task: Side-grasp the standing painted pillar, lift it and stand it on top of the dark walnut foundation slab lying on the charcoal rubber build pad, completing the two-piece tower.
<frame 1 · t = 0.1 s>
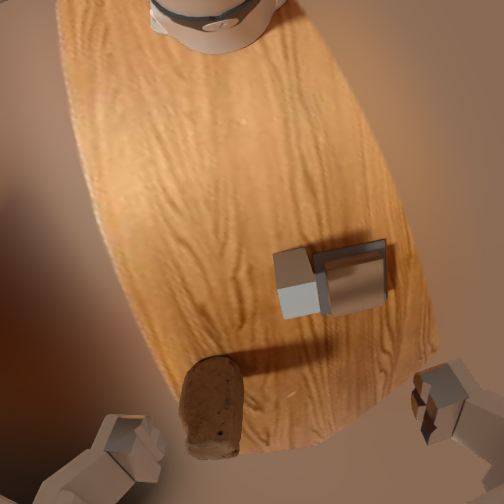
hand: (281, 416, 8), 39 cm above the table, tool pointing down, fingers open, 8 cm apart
base slab: (352, 279, 51), resting on build pad
pillar: (291, 264, 50), on the table
build pad: (352, 278, 52), on the table
block: (215, 367, 61), on the table
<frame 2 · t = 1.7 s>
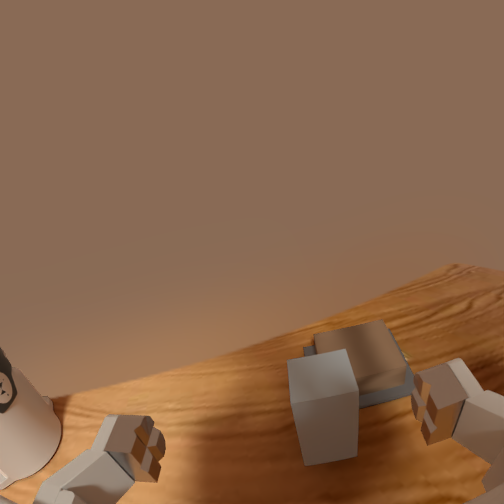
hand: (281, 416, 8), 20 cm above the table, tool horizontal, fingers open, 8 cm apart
base slab: (357, 367, 35), resting on build pad
pillar: (327, 441, 27), on the table
build pad: (357, 370, 35), on the table
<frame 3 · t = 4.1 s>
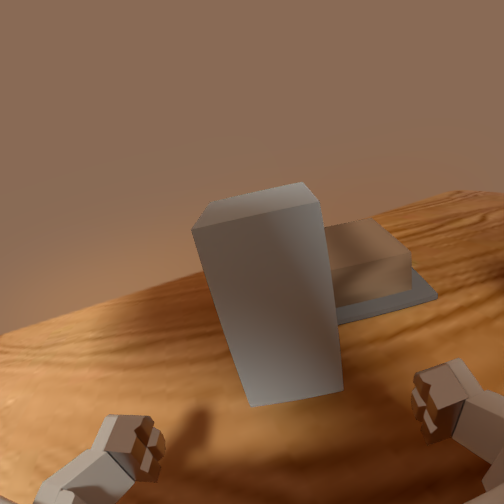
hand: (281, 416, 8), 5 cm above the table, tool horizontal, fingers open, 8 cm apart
base slab: (341, 276, 26), resting on build pad
pillar: (293, 369, 18), on the table
build pad: (341, 280, 26), on the table
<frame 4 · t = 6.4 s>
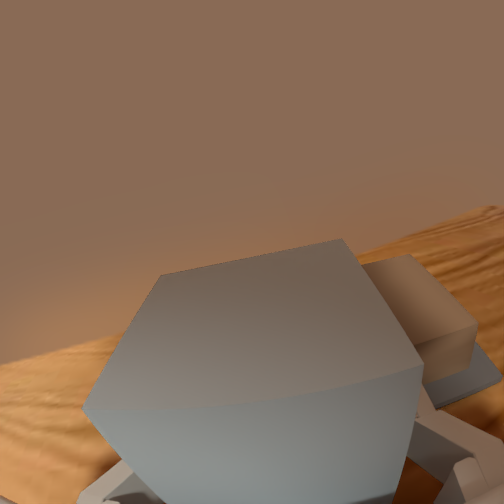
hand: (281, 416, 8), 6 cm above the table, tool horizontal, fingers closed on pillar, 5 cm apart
base slab: (371, 342, 18), resting on build pad
build pad: (371, 347, 18), on the table
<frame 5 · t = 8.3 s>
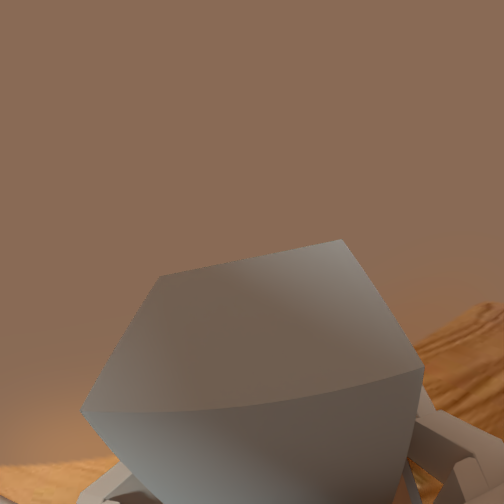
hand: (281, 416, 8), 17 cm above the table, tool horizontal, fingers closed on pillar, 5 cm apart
when the fingers open (10 cm above the table, at t = 10.3 s): pillar drops 1 cm, resting on base slab.
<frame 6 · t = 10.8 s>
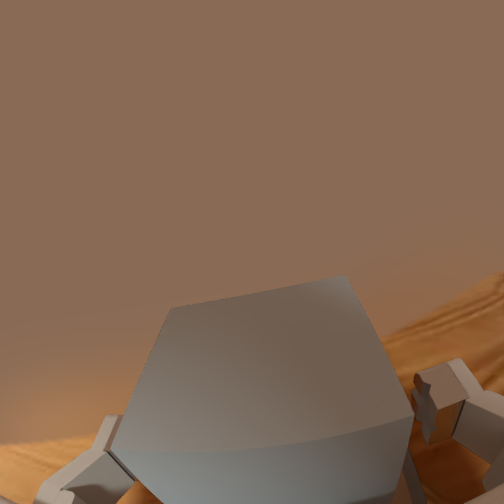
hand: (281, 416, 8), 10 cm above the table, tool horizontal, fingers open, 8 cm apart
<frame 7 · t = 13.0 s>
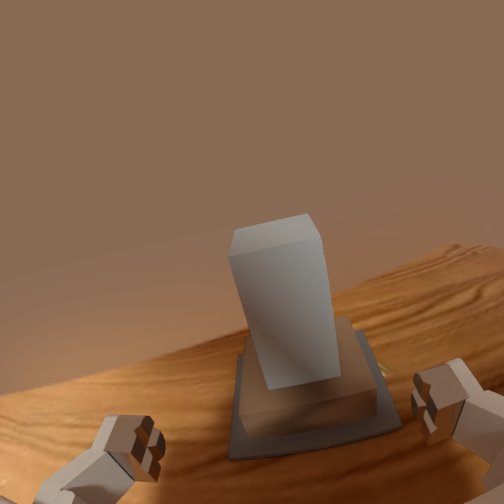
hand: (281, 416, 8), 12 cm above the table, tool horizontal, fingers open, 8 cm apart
base slab: (307, 387, 24), resting on build pad, touching pillar
pillar: (301, 360, 22), point 3 cm above the table, touching base slab
build pad: (307, 390, 24), on the table
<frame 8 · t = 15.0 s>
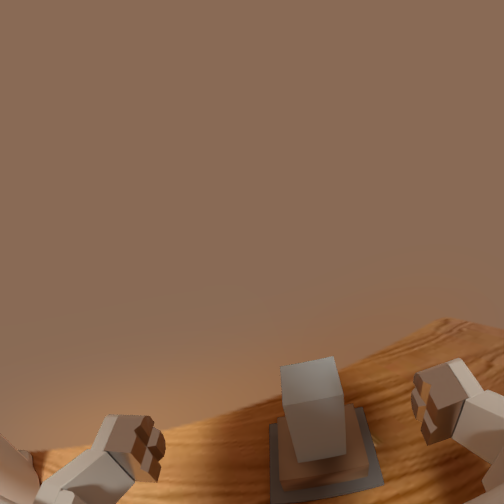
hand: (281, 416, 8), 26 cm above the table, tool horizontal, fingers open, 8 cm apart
base slab: (321, 453, 30), resting on build pad, touching pillar
pillar: (319, 440, 29), point 3 cm above the table, touching base slab
build pad: (322, 455, 30), on the table
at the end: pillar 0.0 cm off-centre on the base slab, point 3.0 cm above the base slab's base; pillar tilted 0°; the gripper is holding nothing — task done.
